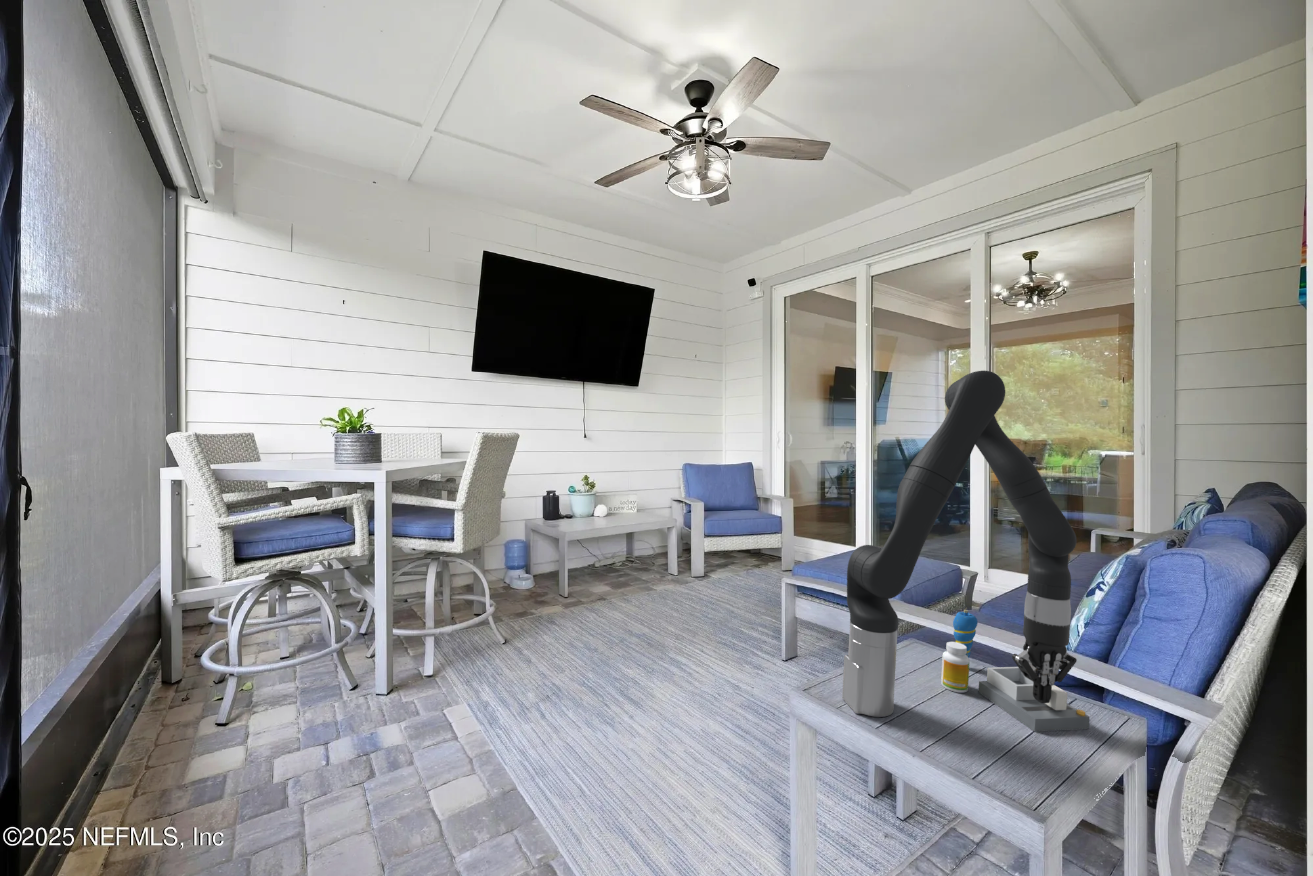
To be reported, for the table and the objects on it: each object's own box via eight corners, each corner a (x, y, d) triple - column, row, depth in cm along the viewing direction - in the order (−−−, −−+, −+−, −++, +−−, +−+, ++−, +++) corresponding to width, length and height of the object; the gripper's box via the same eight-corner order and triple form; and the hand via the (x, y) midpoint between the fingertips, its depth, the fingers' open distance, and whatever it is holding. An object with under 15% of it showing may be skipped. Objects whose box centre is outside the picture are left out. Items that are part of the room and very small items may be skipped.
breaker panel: (1034, 731, 104) (1036, 704, 104) (978, 692, 119) (979, 668, 119) (1088, 728, 106) (1090, 701, 106) (1026, 690, 121) (1028, 666, 120)
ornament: (968, 663, 133) (972, 604, 133) (979, 673, 128) (982, 611, 128) (947, 661, 134) (950, 603, 133) (956, 671, 129) (959, 610, 128)
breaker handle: (1055, 710, 107) (1056, 693, 107) (1042, 702, 110) (1044, 685, 110) (1066, 709, 107) (1067, 692, 107) (1053, 701, 110) (1054, 685, 110)
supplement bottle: (971, 694, 118) (974, 651, 117) (945, 691, 119) (947, 648, 119) (963, 683, 123) (965, 641, 123) (937, 680, 124) (939, 639, 124)
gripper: (1032, 624, 103) (1027, 712, 103) (1093, 623, 104) (1087, 710, 105) (1002, 610, 110) (997, 692, 111) (1059, 609, 112) (1054, 690, 113)
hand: (1041, 701), depth 108 cm, fingers closed
